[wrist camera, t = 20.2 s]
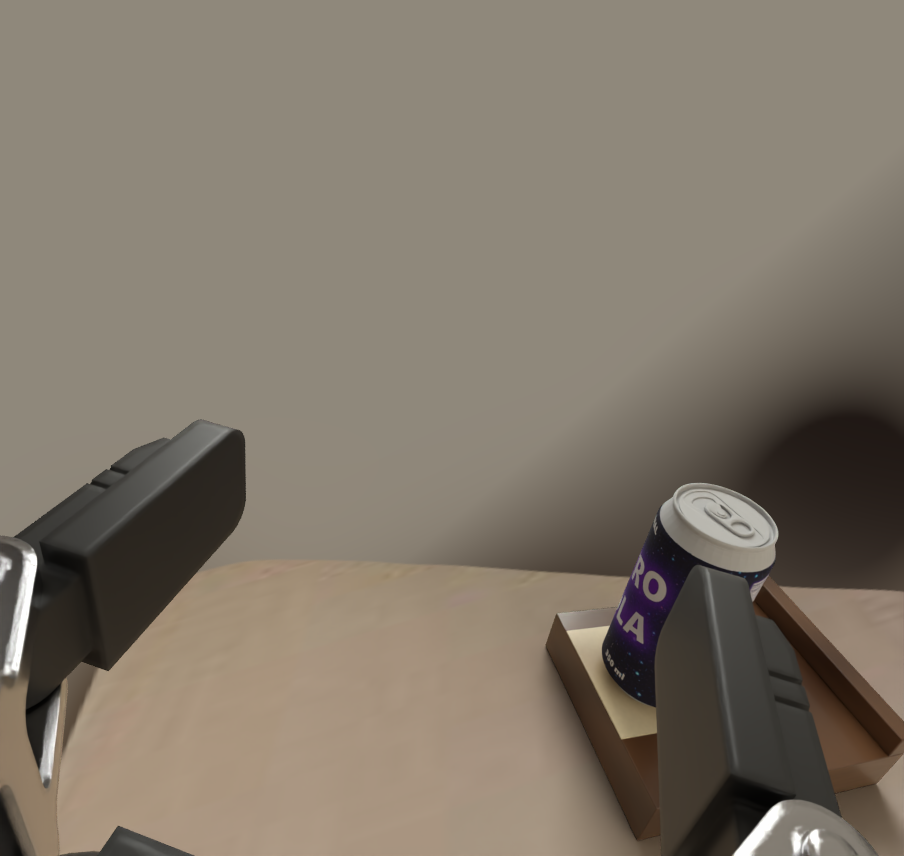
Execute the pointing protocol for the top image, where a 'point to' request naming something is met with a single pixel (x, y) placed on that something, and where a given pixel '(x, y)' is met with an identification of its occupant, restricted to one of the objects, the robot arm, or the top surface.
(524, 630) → the top surface
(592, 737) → the wooden serving tray
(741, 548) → the beverage can
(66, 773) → the top surface
